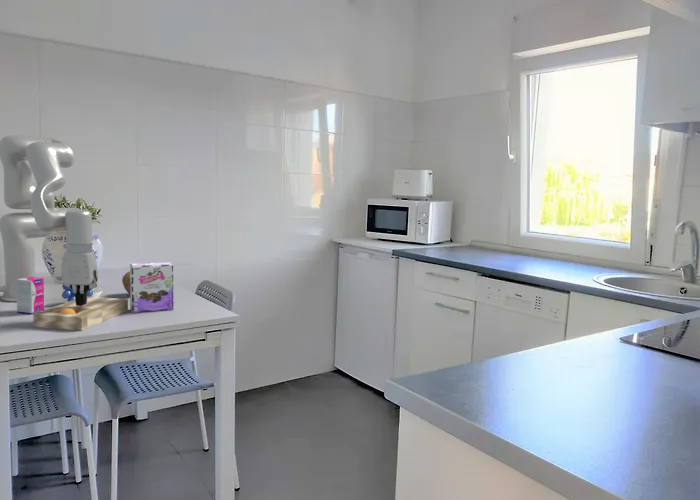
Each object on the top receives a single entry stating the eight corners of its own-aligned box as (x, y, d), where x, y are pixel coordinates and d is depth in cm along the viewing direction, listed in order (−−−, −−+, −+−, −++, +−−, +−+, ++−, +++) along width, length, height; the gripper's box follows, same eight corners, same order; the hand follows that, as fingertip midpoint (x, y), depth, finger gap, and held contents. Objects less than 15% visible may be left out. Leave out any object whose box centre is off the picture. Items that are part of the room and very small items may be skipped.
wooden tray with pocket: (33, 326, 161) (33, 313, 160) (85, 307, 185) (85, 296, 185) (81, 330, 159) (81, 317, 158) (128, 310, 183) (127, 299, 183)
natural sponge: (143, 291, 212) (142, 267, 211) (151, 296, 206) (150, 270, 205) (119, 294, 207) (119, 269, 205) (127, 298, 200) (126, 273, 199)
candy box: (131, 313, 180) (130, 265, 178) (130, 309, 185) (129, 263, 183) (173, 310, 186) (173, 264, 184) (171, 306, 191) (170, 261, 189)
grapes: (92, 299, 198) (91, 267, 196) (99, 302, 193) (98, 270, 191) (58, 303, 190) (57, 270, 188) (64, 307, 185) (63, 273, 183)
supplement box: (32, 314, 174) (30, 280, 172) (16, 313, 175) (15, 279, 174) (45, 310, 180) (44, 277, 178) (30, 309, 181) (28, 276, 179)
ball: (63, 327, 162) (57, 324, 166) (80, 321, 166) (74, 318, 169) (59, 312, 161) (53, 309, 164) (75, 306, 164) (70, 304, 168)
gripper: (49, 248, 165) (52, 305, 168) (93, 251, 163) (95, 309, 166) (65, 246, 173) (67, 300, 175) (108, 248, 171) (109, 303, 173)
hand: (81, 304), depth 170 cm, fingers closed
